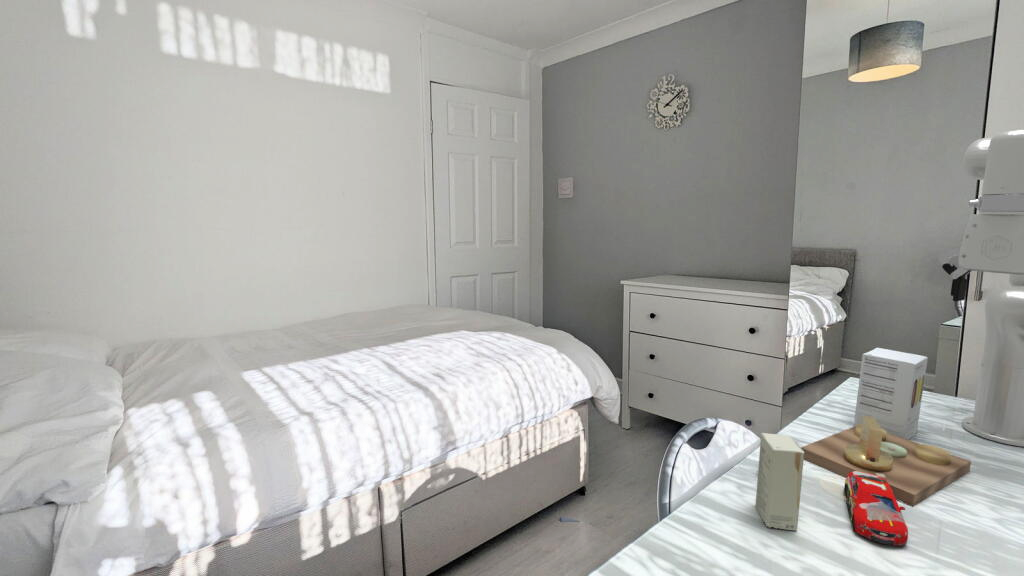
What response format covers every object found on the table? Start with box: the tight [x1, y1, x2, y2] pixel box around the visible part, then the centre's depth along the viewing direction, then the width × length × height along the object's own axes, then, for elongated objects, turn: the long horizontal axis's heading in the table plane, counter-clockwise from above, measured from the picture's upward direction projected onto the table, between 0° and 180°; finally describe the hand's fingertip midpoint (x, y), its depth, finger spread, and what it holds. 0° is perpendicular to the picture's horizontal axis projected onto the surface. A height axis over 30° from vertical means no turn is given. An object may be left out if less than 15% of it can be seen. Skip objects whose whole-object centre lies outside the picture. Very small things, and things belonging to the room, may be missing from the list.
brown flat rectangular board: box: [800, 424, 972, 507], centre depth 91 cm, size 22×18×4 cm
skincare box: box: [755, 432, 805, 531], centre depth 74 cm, size 6×4×12 cm
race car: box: [843, 471, 909, 547], centre depth 75 cm, size 16×7×5 cm, turn 151°
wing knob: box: [844, 416, 893, 471], centre depth 88 cm, size 7×7×7 cm
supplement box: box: [853, 347, 928, 440], centre depth 105 cm, size 10×9×17 cm
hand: (993, 305), depth 86 cm, fingers open, 9 cm apart
